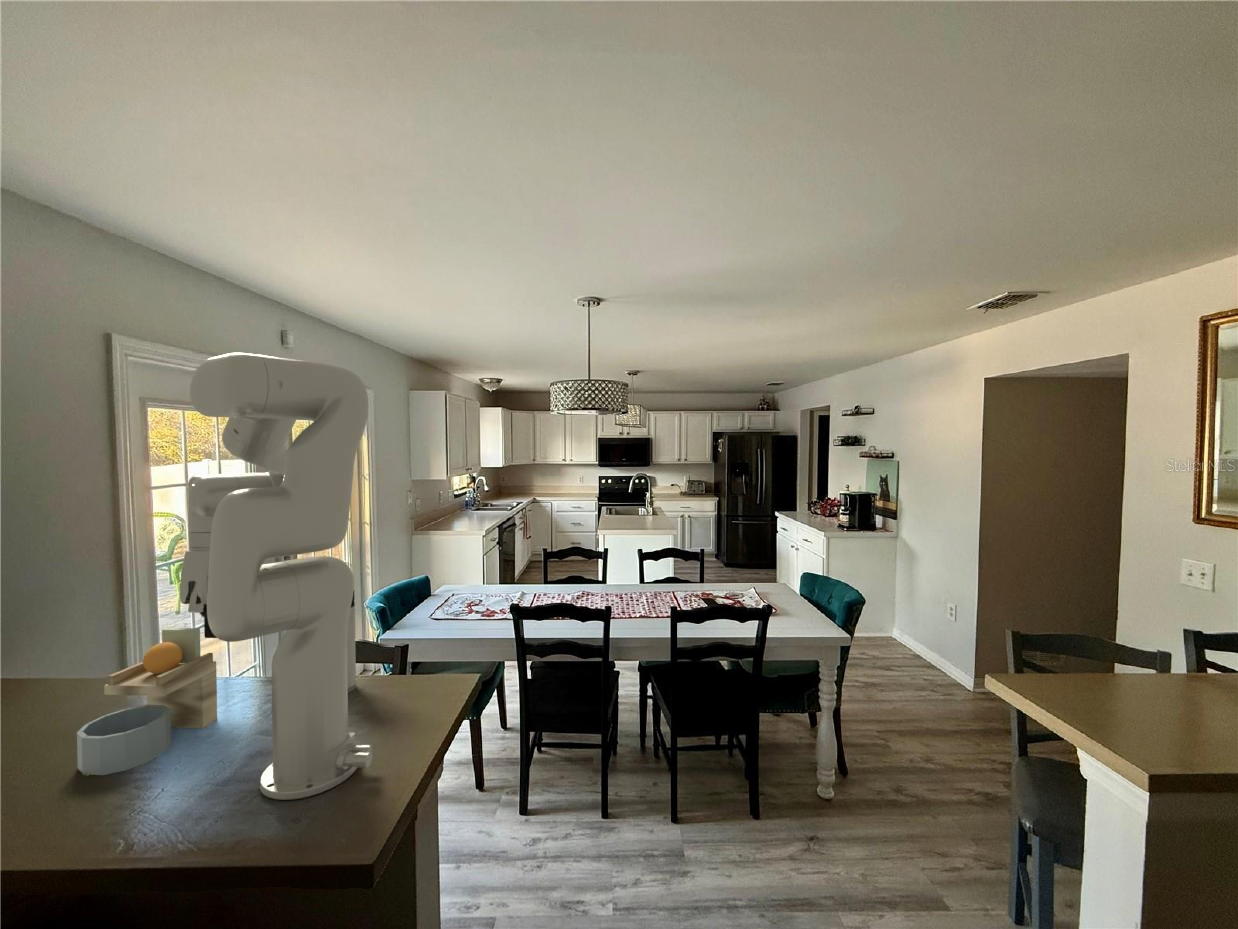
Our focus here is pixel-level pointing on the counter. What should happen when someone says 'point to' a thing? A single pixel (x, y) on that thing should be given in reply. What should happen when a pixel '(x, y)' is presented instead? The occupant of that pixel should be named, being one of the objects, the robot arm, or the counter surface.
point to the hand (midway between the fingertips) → (216, 636)
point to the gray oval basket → (123, 739)
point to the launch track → (174, 690)
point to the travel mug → (351, 649)
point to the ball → (162, 657)
